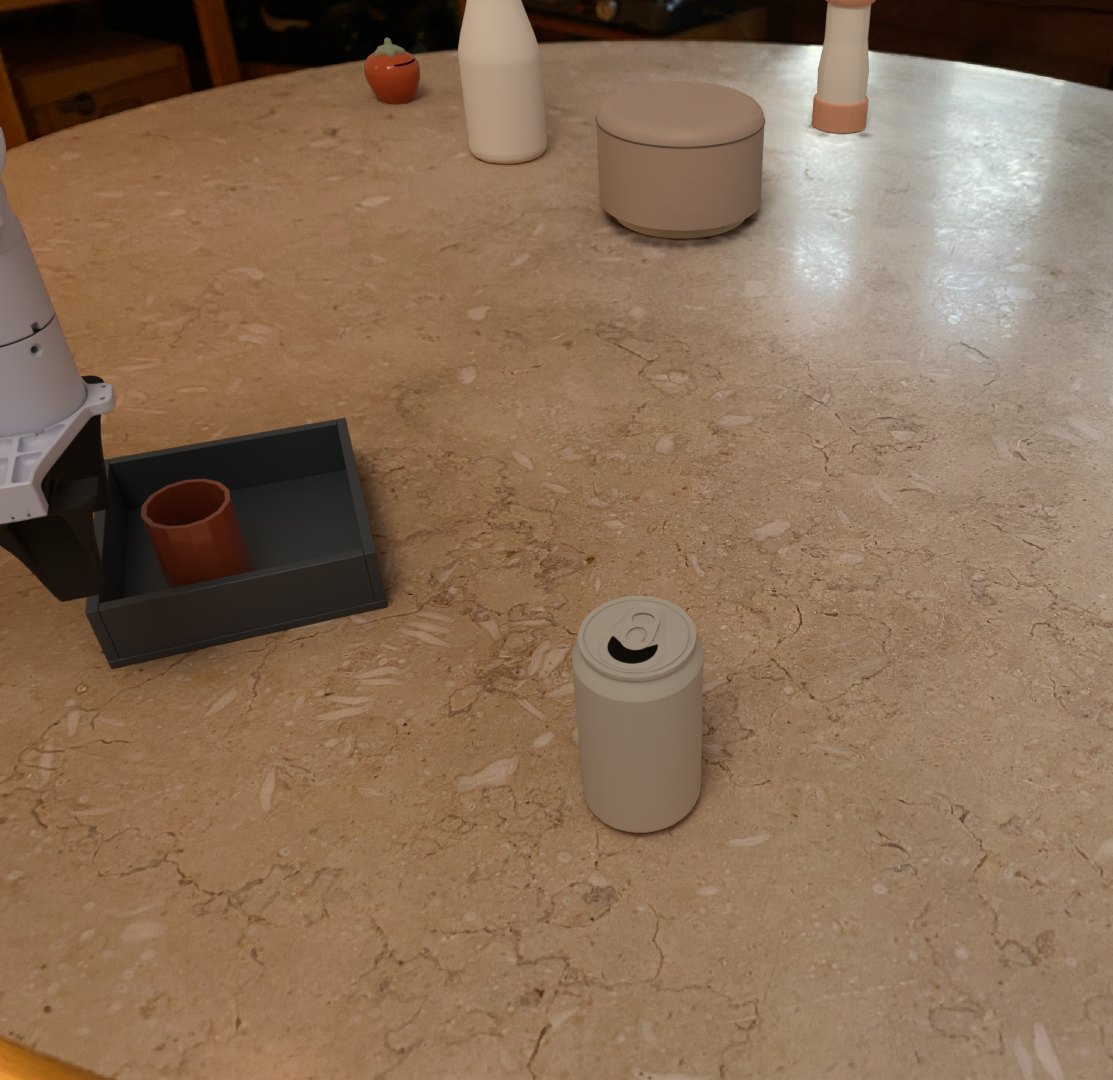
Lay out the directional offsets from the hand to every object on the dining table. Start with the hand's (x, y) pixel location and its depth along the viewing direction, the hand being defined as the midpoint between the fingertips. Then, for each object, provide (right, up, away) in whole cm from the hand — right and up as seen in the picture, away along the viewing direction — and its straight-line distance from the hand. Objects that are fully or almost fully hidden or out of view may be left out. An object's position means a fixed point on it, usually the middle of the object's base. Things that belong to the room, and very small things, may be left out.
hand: (86, 549), depth 59 cm
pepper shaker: (+51, +56, +87) cm, 115 cm away
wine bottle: (+8, +48, +76) cm, 91 cm away
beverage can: (+30, -13, 0) cm, 33 cm away
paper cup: (+2, -3, +11) cm, 12 cm away
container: (+30, +37, +63) cm, 79 cm away
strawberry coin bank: (-10, +61, +91) cm, 110 cm away
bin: (+2, -1, +15) cm, 15 cm away
